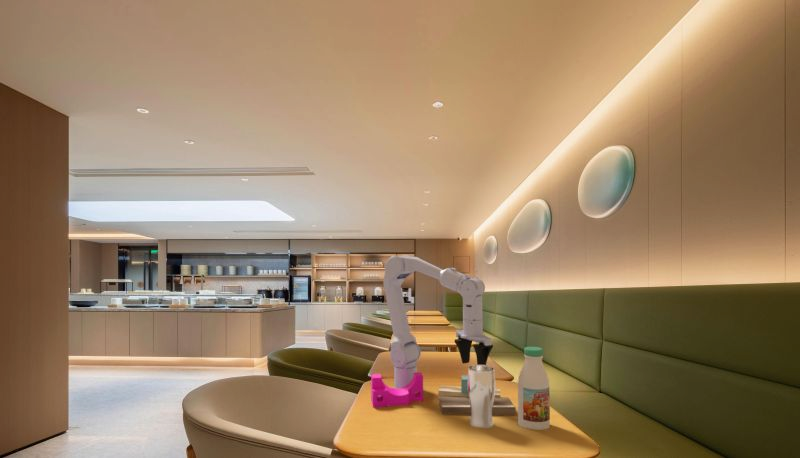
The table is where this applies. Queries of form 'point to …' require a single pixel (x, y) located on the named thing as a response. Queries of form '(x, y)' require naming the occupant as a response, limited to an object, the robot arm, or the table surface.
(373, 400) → the pink pipe cradle
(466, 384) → the teal cube
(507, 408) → the dock
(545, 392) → the milk bottle
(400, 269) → the robot arm
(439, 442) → the table surface
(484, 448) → the table surface
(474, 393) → the silver metal tumbler
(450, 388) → the tan tray
